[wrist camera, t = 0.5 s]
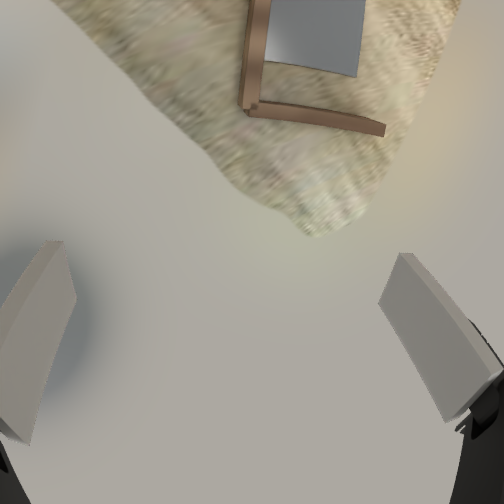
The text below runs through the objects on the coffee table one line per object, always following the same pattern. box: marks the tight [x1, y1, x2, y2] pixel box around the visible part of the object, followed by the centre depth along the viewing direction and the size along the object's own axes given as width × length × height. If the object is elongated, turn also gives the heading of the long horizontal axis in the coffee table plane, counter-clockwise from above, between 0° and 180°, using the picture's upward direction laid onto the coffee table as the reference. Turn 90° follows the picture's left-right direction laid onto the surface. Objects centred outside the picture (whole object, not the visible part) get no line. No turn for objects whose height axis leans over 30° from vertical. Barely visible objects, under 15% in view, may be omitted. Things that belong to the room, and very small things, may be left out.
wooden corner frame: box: [238, 0, 386, 137], centre depth 26 cm, size 21×16×5 cm
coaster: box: [264, 0, 366, 77], centre depth 27 cm, size 11×11×1 cm
